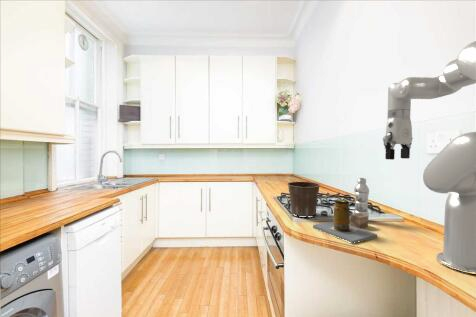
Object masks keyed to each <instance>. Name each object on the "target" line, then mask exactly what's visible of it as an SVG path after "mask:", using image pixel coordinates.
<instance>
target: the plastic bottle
mask: <svg viewBox="0 0 476 317" xmlns="http://www.w3.org/2000/svg"><path fill="white" fill-rule="evenodd" d="M366 183H367V178H366V177H365V178H364V177H358V178H357V183H356V185H355V187H354V188H353V189H354V199H355V200H354V202H355V203H354V211H353V214H357V213H359V214H362V215H366V216H368V219H369V217H370V212H369V206H368V201H369V195H370V188H369V187H368V185H367V184H366Z"/></svg>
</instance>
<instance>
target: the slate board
mask: <svg viewBox="0 0 476 317" xmlns="http://www.w3.org/2000/svg"><path fill="white" fill-rule="evenodd" d="M349 225H350V224H349ZM332 227H334V220H331V221H327V222H322V223H317V224H313V225H312V228H313V229H315V230H317V229H318V230H317V231H320V230H321V231H320V232H322V231H323V232H322V233H324V232H326V233H325V234H327V233H329V234H331V235H334V236H336V237H339V238H341V239H344V240H347V241H349V242H351V243H354V242H358V241H362V240H366V241H368V240H367V239H369V240H372V239H371V238H373V239H376V238H375V237H377V238H378V234H376V233H375V232H373V231H372V232H371V231H368V230H366V229H364V228H362V229H360V228H357V227H354V226H351V225H350V226H349V227H350V228H353V229H357V231H355V232H353V233H350V234H348V233H344V232H341V231H336V230H332V229H329V228H332ZM329 234H328V235H329ZM331 235H330V236H331ZM334 236H333V237H334ZM336 237H335V238H336ZM339 238H338V239H339ZM341 239H340V240H341ZM362 242H363V241H362Z"/></svg>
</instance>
